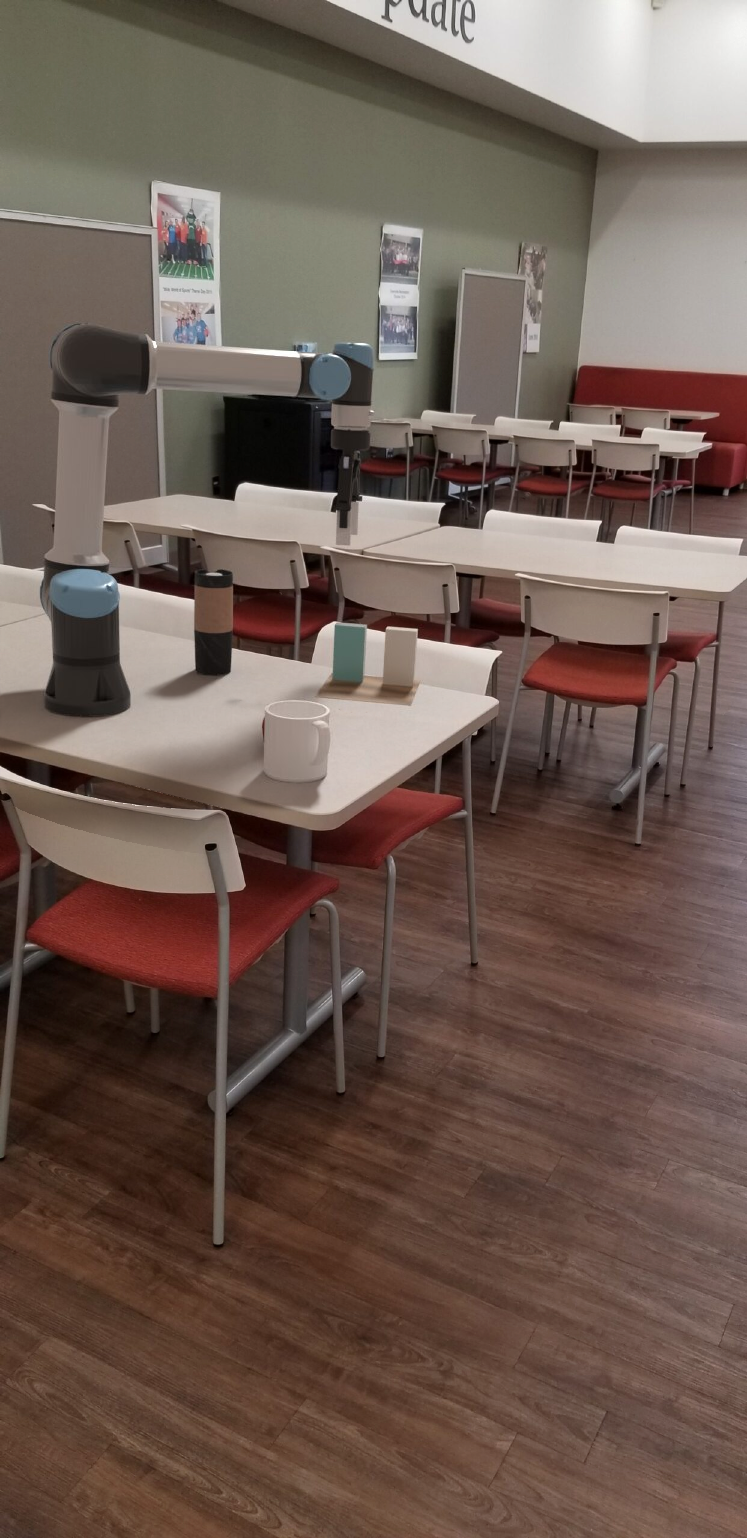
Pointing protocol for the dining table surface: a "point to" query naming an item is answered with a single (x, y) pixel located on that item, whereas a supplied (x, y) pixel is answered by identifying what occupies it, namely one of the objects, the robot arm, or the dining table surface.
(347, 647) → the tile teal
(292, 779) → the mug
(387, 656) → the tile plain
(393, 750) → the dining table surface
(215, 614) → the travel mug
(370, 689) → the board
